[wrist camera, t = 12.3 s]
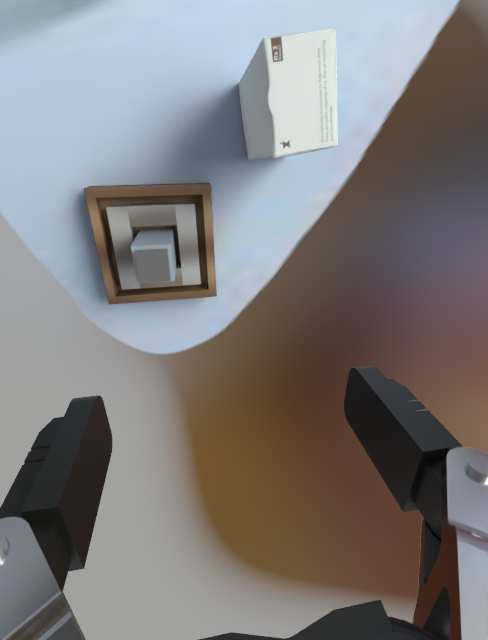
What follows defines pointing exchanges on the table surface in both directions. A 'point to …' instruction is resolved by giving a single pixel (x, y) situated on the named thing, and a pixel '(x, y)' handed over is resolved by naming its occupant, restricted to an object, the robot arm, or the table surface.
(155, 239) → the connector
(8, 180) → the table surface
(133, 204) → the walnut box
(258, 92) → the skincare box
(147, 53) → the table surface
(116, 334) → the table surface
